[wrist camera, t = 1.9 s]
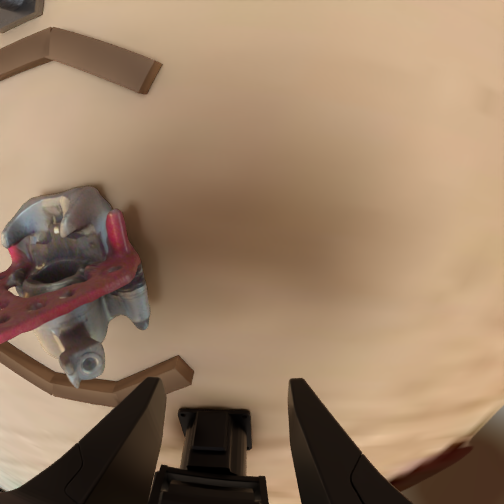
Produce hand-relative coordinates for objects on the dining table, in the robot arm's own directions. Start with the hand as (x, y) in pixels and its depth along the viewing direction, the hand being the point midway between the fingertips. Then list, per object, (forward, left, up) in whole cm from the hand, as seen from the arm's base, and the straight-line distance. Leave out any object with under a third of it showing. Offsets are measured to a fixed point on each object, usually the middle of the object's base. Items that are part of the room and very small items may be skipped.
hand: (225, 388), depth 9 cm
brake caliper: (-1, +11, -12) cm, 16 cm away
